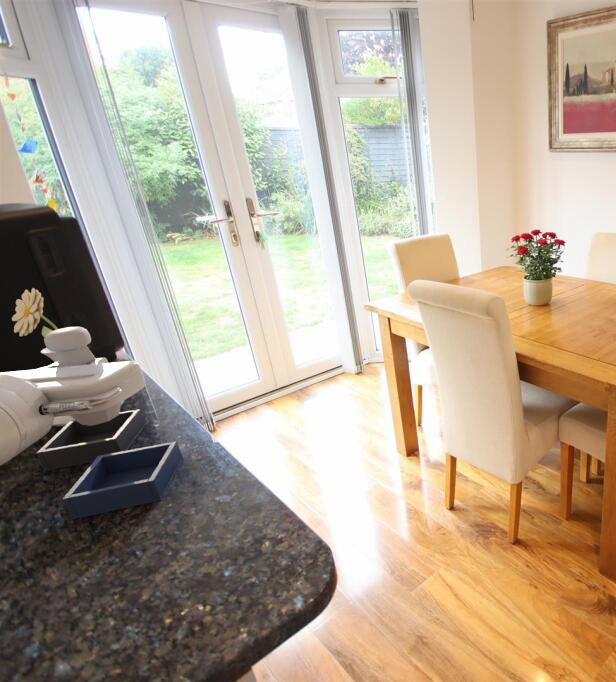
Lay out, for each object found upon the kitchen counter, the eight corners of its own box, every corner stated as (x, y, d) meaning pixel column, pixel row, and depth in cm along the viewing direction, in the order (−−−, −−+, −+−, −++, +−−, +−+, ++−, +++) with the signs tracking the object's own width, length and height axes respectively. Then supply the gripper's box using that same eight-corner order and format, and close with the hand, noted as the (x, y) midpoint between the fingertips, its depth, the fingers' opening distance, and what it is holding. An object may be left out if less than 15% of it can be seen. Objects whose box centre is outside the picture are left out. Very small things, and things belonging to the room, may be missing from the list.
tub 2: (71, 519, 60) (61, 499, 59) (106, 474, 69) (98, 455, 67) (161, 500, 63) (153, 480, 62) (183, 458, 72) (177, 441, 70)
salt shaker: (65, 433, 60) (22, 341, 55) (82, 413, 65) (44, 327, 60) (119, 422, 62) (83, 332, 57) (132, 404, 67) (100, 319, 62)
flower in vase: (49, 415, 86) (-13, 286, 77) (125, 394, 93) (78, 273, 84) (46, 444, 77) (-24, 301, 68) (131, 418, 84) (79, 285, 75)
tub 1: (44, 471, 70) (35, 453, 69) (77, 437, 79) (70, 420, 77) (122, 456, 73) (115, 438, 72) (146, 425, 82) (140, 408, 80)
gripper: (91, 379, 49) (161, 335, 62) (-135, 401, 46) (-12, 350, 59) (112, 430, 51) (175, 377, 64) (-102, 453, 49) (9, 393, 61)
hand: (84, 364), depth 62 cm, fingers closed on salt shaker, 3 cm apart
